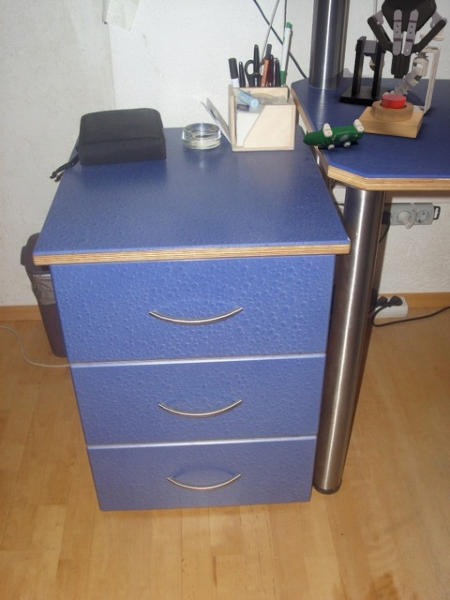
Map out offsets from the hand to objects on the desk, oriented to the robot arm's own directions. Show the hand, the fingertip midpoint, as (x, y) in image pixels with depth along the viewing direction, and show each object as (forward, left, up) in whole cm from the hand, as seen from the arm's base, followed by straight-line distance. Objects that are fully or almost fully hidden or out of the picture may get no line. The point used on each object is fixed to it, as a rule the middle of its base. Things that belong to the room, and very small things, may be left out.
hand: (399, 77), depth 101 cm
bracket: (+8, -18, -9) cm, 21 cm away
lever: (+8, -22, -3) cm, 24 cm away
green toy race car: (+8, +12, -9) cm, 17 cm away
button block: (0, 0, -9) cm, 9 cm away
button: (0, 0, -5) cm, 5 cm away
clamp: (-1, -13, -9) cm, 15 cm away
